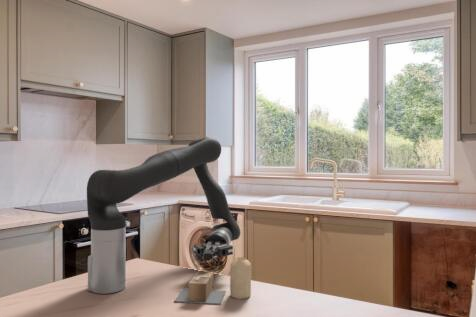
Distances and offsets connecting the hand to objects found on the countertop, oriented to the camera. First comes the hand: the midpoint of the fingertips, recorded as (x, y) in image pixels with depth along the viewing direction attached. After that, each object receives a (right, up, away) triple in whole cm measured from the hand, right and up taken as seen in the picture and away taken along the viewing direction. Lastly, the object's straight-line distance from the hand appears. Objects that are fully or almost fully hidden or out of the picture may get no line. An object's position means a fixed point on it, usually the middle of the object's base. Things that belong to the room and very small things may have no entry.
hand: (207, 257), depth 110 cm
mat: (-1, -9, -8) cm, 12 cm away
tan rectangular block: (0, -6, -2) cm, 6 cm away
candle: (+9, -9, -6) cm, 14 cm away
